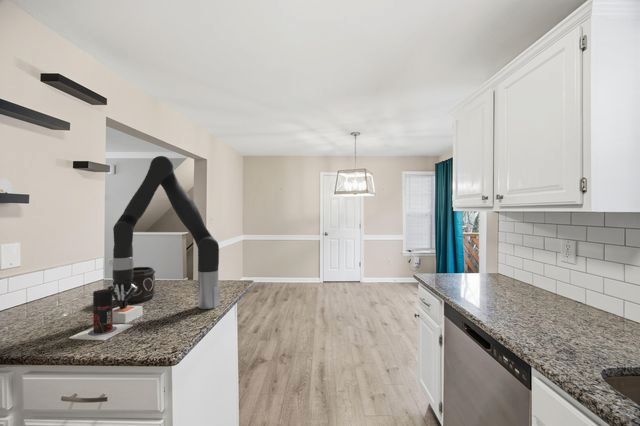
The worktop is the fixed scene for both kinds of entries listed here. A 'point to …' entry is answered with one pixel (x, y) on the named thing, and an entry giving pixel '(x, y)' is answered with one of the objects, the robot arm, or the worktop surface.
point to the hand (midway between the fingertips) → (123, 308)
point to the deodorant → (102, 311)
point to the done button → (123, 309)
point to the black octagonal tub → (142, 285)
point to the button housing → (127, 314)
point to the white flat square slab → (91, 335)
